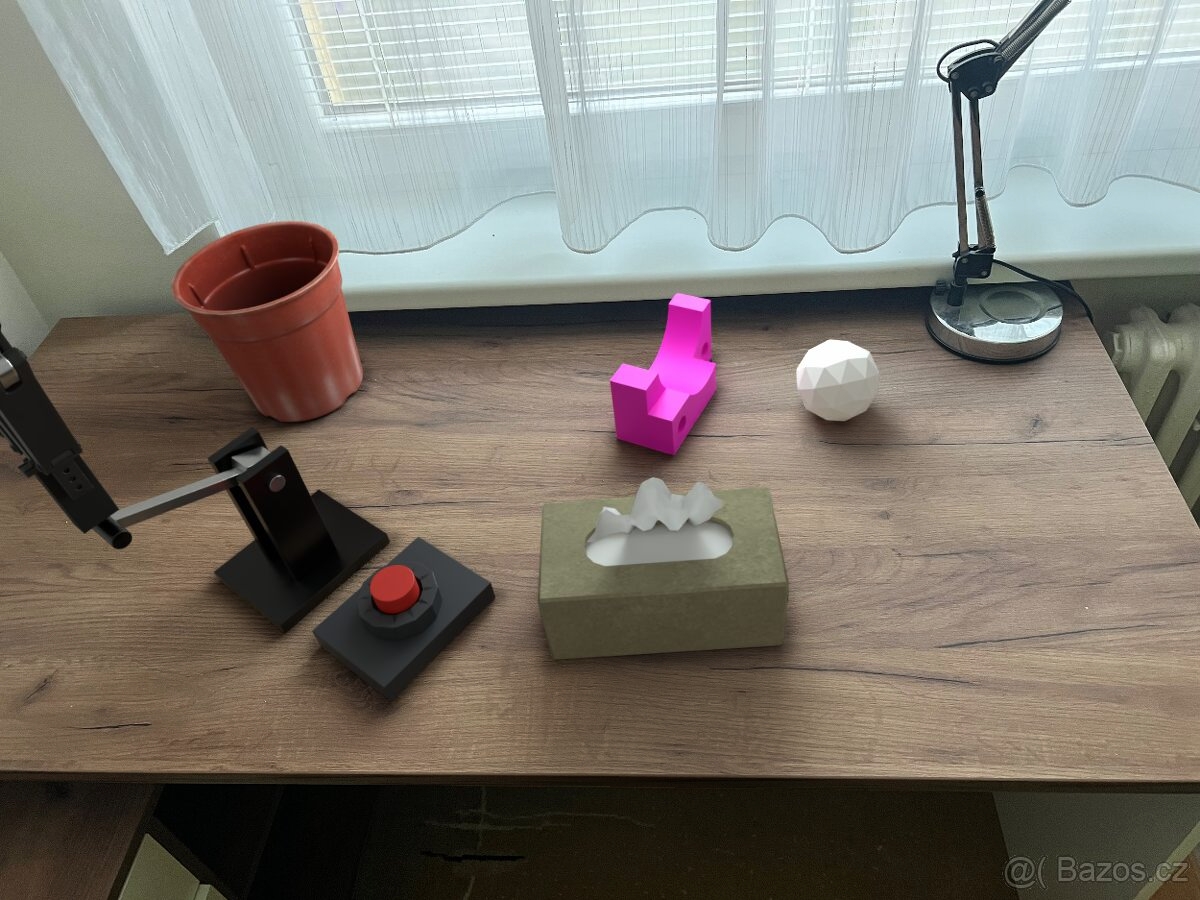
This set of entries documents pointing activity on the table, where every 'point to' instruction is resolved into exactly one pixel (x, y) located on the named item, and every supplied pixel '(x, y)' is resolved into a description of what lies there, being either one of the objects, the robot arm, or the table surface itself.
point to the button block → (405, 620)
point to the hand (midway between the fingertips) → (96, 516)
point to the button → (394, 589)
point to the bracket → (290, 536)
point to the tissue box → (662, 572)
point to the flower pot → (276, 316)
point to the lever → (174, 499)
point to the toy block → (668, 381)
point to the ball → (837, 380)
